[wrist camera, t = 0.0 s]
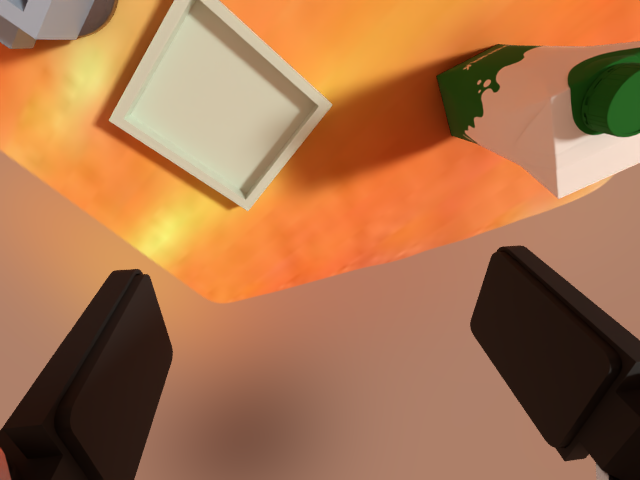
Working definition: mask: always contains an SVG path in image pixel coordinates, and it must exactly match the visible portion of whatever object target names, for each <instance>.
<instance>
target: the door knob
mask: <svg viewBox="0 0 640 480" xmlns="http://www.w3.org/2000/svg"><path fill="white" fill-rule="evenodd" d="M117 3H118V0H94V2H93V5H92V7H91V9H90V11H89V13H88V15H87V18H86V20H85V22H84V24H83V26H82V28H81V30H80V33H79V35H78V37H82V36H88V35H91V34H94V33H96V32H98V31H99V30H101V29H102V28H103V27H105V26H106V25H107V24H108V22H109V21H110V20H111V18H112V17H113V15H114V13H115V10H116V8H117Z"/></svg>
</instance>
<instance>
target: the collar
mask: <svg viewBox="0 0 640 480" xmlns="http://www.w3.org/2000/svg"><path fill="white" fill-rule="evenodd" d="M93 2H94V0H0V42H1V43H2V44H4V45H5V46H7V47H8V48H10V49H25V48H33V47H34V45H35V42H36V40H37V39H47V40H76V39H77V37H78V35H79V33H80V30H81V28H82V26H83V24H84V22H85V20H86V18H87V15H88V13H89V11H90V9H91V7H92V5H93Z"/></svg>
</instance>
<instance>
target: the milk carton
mask: <svg viewBox="0 0 640 480" xmlns="http://www.w3.org/2000/svg"><path fill="white" fill-rule="evenodd" d="M437 80H438V84H439V88H440V92H441V96H442V100H443V104H444V108H445V112H446V116H447V120H448V124H449V128H450V132H451V135H452V136H455V137H458V138H461V139H464V140H467V141H470V142H473V143H476V144H478V145H480V146H482V147H484V148H486V149H488V150H490V151H492V152H494V153H496V154H498V155H500V156H502V157H504V158H506V159H508V160H510V161H512V162H514V163H516V164H518V165H520V166H521V167H523V168H524V169H525V170H526V171H527V172H528V173H530V174H531V175H532V176H533V177H534V178H535V179H536V180H538V181H539V182H540V183H541V184H542V185H543V186H544V187H546V188H547V189H548V190H549V191H550V192H551V193H552V194H554V195H555V196H556V197H557V198H558V199H559V198H562V197H564V196H566V195H568V194H571V193H573V192H575V191H577V190H580V189H582V188H584V187H586V186H589V185H591V184H593V183H595V182H598V181H600V180H602V179H604V178H607V177H609V176H611V175H613V174H616V173H618V172H620V171H622V170H625V169H627V168H629V167H631V166H633V165H636V164H638V163H640V41H637V42H628V43H618V44H608V45H598V46H586V47H575V46H517V45H502V44H497V45H496V46H494V47H492V48H490V49H488V50H486V51H484V52H482V53H480V54H478V55H476V56H474V57H472V58H470V59H468V60H467V61H465V62H463V63H461V64H459V65H457V66H455V67H453V68H451V69H449V70H447V71H445V72H443V73H441V74H439V75H437Z"/></svg>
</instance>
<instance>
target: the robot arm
mask: <svg viewBox="0 0 640 480" xmlns="http://www.w3.org/2000/svg"><path fill="white" fill-rule="evenodd" d="M470 326H471V331H472V333H473V335H474V336H475V338H476V339H477V341H478V342H479V344H480V345H481V346H482V348H483V349H484V351H485V353H486V354H487V355H488V357H489V358H490V360H491V361H492V363H493V364H494V366H495V367H496V369H497V370H498V372H499V373H500V375H501V376H502V377H503V379H504V380H505V382H506V383H507V385H508V386H509V388H510V389H511V391H512V392H513V393H514V395H515V396H516V398H517V399H518V401H519V402H520V404H521V405H522V407H523V408H524V410H525V411H526V413H527V414H528V415H529V417H530V418H531V420H532V421H533V423H534V424H535V426H536V427H537V429H538V430H539V432H540V433H541V434H542V436H543V437H544V439H545V440H546V441H547V442H548V444H549V445H551V446H552V447H555V448H556V449H557V451H558V452H559V454H560V455H561V456H562V458H563V460H564V461H570V460H577V459H584V458H586V457H587V456H588V455H589V454H590V455H591V457H592V458H593V459H594V460H595V462H596V472H597V480H640V341H639V340H638V339H637V338H636V337H635V336H634V335H632V334H631V333H630V332H629V331H627V330H626V329H625V328H624V327H622V326H621V325H620V324H619V323H618V322H616V321H615V320H614V319H613V318H612V317H610V316H609V315H608V314H607V313H605V312H604V311H603V310H602V309H601V308H599V307H598V306H597V305H595V304H594V303H593V302H592V301H591V300H589V299H588V298H587V297H586V296H585V295H583V294H582V293H581V292H580V291H578V290H577V289H576V288H575V287H574V286H572V285H571V284H570V283H569V282H568V281H566V280H565V279H564V278H563V277H561V276H560V275H559V274H558V273H557V272H555V271H554V270H553V269H552V268H550V267H549V266H548V265H547V264H545V263H544V262H543V261H542V260H540V259H539V258H538V257H537V256H536V255H534V254H533V253H532V252H531V251H530V250H528V249H527V248H526V247H524V246H507V247H500V248H499V249H498V250H497V252H495V253H494V254H493V255H492V256H491V259H490V262H489V266H488V268H487V272H486V275H485V278H484V281H483V284H482V287H481V290H480V294H479V297H478V300H477V303H476V306H475V309H474V312H473V315H472V318H471V322H470ZM172 353H173V351H172V345H171V342H170V339H169V336H168V333H167V329H166V326H165V323H164V320H163V317H162V314H161V310H160V307H159V304H158V301H157V298H156V294H155V291H154V288H153V285H152V282H151V279H150V276H149V275H147V274H143V273H142V272H141V271H140V270H139V269H133V270H117V271H113V272H112V273H111V274H110V275H109V277H108V278H107V279H106V281H105V283H104V284H103V285H102V287H101V288H100V290H99V291H98V293H97V294H96V295H95V297H94V298H93V299H92V301H91V302H90V304H89V305H88V307H87V308H86V310H85V311H84V312H83V314H82V315H81V317H80V318H79V320H78V321H77V322H76V324H75V325H74V327H73V328H72V330H71V331H70V332H69V334H68V335H67V336H66V338H65V339H64V341H63V342H62V344H61V345H60V346H59V348H58V349H57V351H56V352H55V354H54V355H53V356H52V358H51V359H50V361H49V362H48V363H47V365H46V366H45V368H44V369H43V371H42V372H41V373H40V375H39V376H38V378H37V379H36V381H35V382H34V383H33V385H32V387H31V388H30V389H29V391H28V392H27V394H26V395H25V396H24V398H23V399H22V401H21V402H20V403H19V405H18V406H17V408H16V409H15V411H14V412H13V413H12V415H11V416H10V418H9V419H8V421H7V422H6V423H5V425H4V426H3V428H2V429H1V430H0V480H134V478H135V475H136V472H137V469H138V466H139V463H140V459H141V456H142V453H143V450H144V447H145V443H146V440H147V437H148V434H149V431H150V428H151V425H152V422H153V418H154V415H155V412H156V409H157V406H158V402H159V399H160V396H161V393H162V390H163V387H164V384H165V380H166V377H167V374H168V371H169V368H170V365H171V361H172V355H173V354H172Z"/></svg>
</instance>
